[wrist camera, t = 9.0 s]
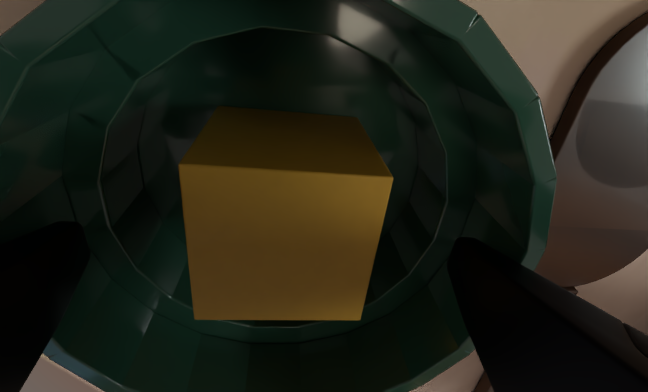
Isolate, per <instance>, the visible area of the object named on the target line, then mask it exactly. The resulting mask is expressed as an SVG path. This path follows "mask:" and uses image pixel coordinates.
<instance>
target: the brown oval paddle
mask: <svg viewBox="0 0 648 392" xmlns="http://www.w3.org/2000/svg"><path fill="white" fill-rule="evenodd" d="M550 145H551V149H552V154H553V158H554V163H555V167H556V172H557V177H556V178H557V185H556V191H555V198H554V204H553V210H552V216H551V222H550V228H549V234H548V240H547V246H546V248H545V252H544V254H543V256H542V258H541V260H540V262H539V263H538V265H537V267H536V269H535V271H534V272H536V273H538V274H539V275H541V276H543V277H545V278H546V279H548V280H550V281H552V282H553V283H555V284H557V285H559V286H561V287H562V288H564V289H566V290H568V291H569V292H571V293H573V294H575V295H577V293H578V291H577V290H576V289H575V288H574V287H573V286H579V285H584V284H588V283H591V282H594V281H597V280H599V279H602V278H605V277H607V276H609V275H611V274H613V273H615V272H617V271H618V270H620V269H622V268H624V267H625V266H627V265H628V264H629V263H631V262H632V261H634V260H635V259H636V258H638V257H639V256H640V255H641V254H642V253H643V252H645V251H646V250H647V249H648V13H646V14H645V15H643V16H641V17H640V18H638V19H637V20H635V21H634V22H632V23H631V24H630V25H628V26H627V27H626V28H624V29H623V30H622V31H621V32H619V33H618V34H617V35H616V36H615V37H614V38H613V39H612V40H611V41H610V42H609V43H608V44H607V45H606V46H605V47H604V48H603V49H602V50H601V51H600V52H599V53H598V54H597V56H596V57H595V58H594V60H593V61H592V62H591V63H590V65H589V66H588V67H587V69H586V70H585V72H584V74H583V75H582V77H581V78H580V80H579V82H578V84H577V85H576V87H575V89H574V91H573V93H572V95H571V98H570V100H569V102H568V104H567V106H566V109H565V111H564V113H563V115H562V117H561V120H560V122H559V124H558V126H557V128H556V131H555V133H554V135H553V137H552V139H551V141H550ZM474 392H494V391H493V388H492V386H491V384H490V382H489V379H488V377H487V375H486V372H485V373H484V375H483V376H482V378H481V380H480V382H479V384H478V386H477V387H476V389H475V391H474Z"/></svg>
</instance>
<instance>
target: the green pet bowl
mask: <svg viewBox="0 0 648 392" xmlns="http://www.w3.org/2000/svg"><path fill="white" fill-rule="evenodd" d="M218 106H228V107H240V108H252V109H263V110H275V111H287V112H299V113H310V114H322V115H334V116H346V117H357V118H358V120H359V121H360V123H361V125H362V126H363V128H364V129H365V131H366V133H367V134H368V136H369V138H370V139H371V141H372V143H373V144H374V146H375V148H376V149H377V151H378V153H379V154H380V156H381V158H382V159H383V161H384V163H385V164H386V166H387V168H388V169H389V171H390V173H391V174H392V176H393V183H392V187H391V191H390V195H389V200H388V204H387V208H386V213H385V217H384V221H383V225H382V230H381V234H380V238H379V242H378V247H377V251H376V255H375V260H374V264H373V268H372V272H371V277H370V281H369V285H368V289H367V294H366V298H365V302H364V306H363V311H362V315H361V319H360V320H195V319H194V313H193V303H192V293H191V284H190V274H189V265H188V255H187V245H186V236H185V226H184V217H183V207H182V197H181V188H180V178H179V169H178V165H179V163H180V161H181V160H182V158H183V157H184V155H185V154H186V152H187V151H188V149H189V148H190V147H191V145H192V144H193V142H194V141H195V139H196V138H197V136H198V135H199V133H200V132H201V130H202V129H203V127H204V126H205V124H206V123H207V122H208V120H209V119H210V117H211V116H212V114H213V113H214V111H215V110H216V108H217V107H218ZM556 177H557V172H556V167H555V163H554V158H553V154H552V149H551V145H550V140H549V136H548V132H547V127H546V123H545V118H544V114H543V109H542V105H541V100H540V97H539V96H538V93H537V91H536V90H535V88H534V87H533V86H532V84H531V83H530V82H529V80H528V79H527V77H526V76H525V75H524V73H523V72H522V71H521V69H520V68H519V66H518V65H517V64H516V62H515V61H514V60H513V58H512V57H511V56H510V54H509V53H508V51H507V50H506V49H505V47H504V46H503V45H502V43H501V42H500V40H499V39H498V38H497V36H496V35H495V34H494V32H493V31H492V29H491V28H490V27H489V25H488V24H487V23H486V21H485V20H484V18H483V17H482V16H481V15H479V14H478V13H477V11H476V10H474V9H473V8H471V7H469V6H468V5H466V4H464V3H463V2H461V1H459V0H45V1H44V2H43V3H41V4H40V5H39V6H37V7H36V8H35V9H34V10H32V11H31V12H30V13H29V14H27V15H26V16H25V17H23V18H22V19H21V20H20V21H18V22H17V23H16V24H15V25H13V26H12V27H11V28H9V29H8V30H7V31H6V32H4V33H3V34H2V35H1V36H0V245H1V244H3V243H6V242H8V241H11V240H13V239H16V238H18V237H21V236H23V235H25V234H28V233H30V232H33V231H35V230H38V229H40V228H43V227H45V226H48V225H50V224H53V223H55V222H58V221H70V222H79V223H80V224H81V225H82V226H83V229H84V232H85V236H86V239H87V243H88V246H89V250H90V258H89V261H88V264H87V266H86V268H85V270H84V273H83V275H82V277H81V279H80V281H79V284H78V286H77V288H76V290H75V292H74V295H73V297H72V299H71V301H70V303H69V306H68V308H67V310H66V312H65V314H64V316H63V318H62V320H61V322H60V324H59V326H58V327H57V329H56V331H55V333H54V334H53V336H52V338H51V339H50V341H49V343H48V344H47V346H46V348H45V350H44V351H43V354H44V355H45V356H47V357H48V358H49V359H50V360H52V361H54V362H55V363H57V364H59V365H60V366H62V367H64V368H66V369H67V370H69V371H71V372H72V373H74V374H76V375H78V376H79V377H81V378H83V379H84V380H86V381H88V382H89V383H91V384H93V385H95V386H96V387H98V388H100V389H101V390H103V391H105V392H409V391H411V390H414V389H416V388H418V387H421V386H422V385H424V384H425V383H427V382H428V381H430V380H431V379H433V378H434V377H436V376H438V375H439V374H441V373H442V372H444V371H445V370H447V369H448V368H450V367H451V366H453V365H454V364H456V363H457V362H459V361H460V360H462V359H463V358H465V357H467V356H468V355H470V353H471V352H473V351H474V350H475V347H474V345H473V342H472V340H471V338H470V335H469V333H468V331H467V328H466V326H465V323H464V321H463V318H462V315H461V312H460V309H459V305H458V302H457V299H456V296H455V293H454V289H453V286H452V283H451V280H450V277H449V274H448V270H447V262H448V259H449V256H450V253H451V250H452V248H453V245H454V242H455V240H456V239H457V238H458V237H473V238H476V239H478V240H479V241H481V242H483V243H485V244H487V245H488V246H490V247H492V248H494V249H495V250H497V251H499V252H501V253H502V254H504V255H506V256H508V257H509V258H511V259H513V260H515V261H516V262H518V263H520V264H522V265H524V266H525V267H527V268H529V269H531V270H532V271H535V269H536V267H537V265H538V263H539V262H540V260H541V258H542V256H543V254H544V252H545V248H546V246H547V240H548V234H549V228H550V222H551V216H552V210H553V204H554V198H555V191H556V185H557V178H556Z"/></svg>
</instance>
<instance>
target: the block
mask: <svg viewBox="0 0 648 392" xmlns="http://www.w3.org/2000/svg"><path fill="white" fill-rule="evenodd" d="M178 169H179V178H180V188H181V197H182V207H183V217H184V226H185V236H186V245H187V255H188V265H189V274H190V284H191V293H192V303H193V313H194V319H195V320H360V319H361V315H362V311H363V306H364V302H365V298H366V294H367V289H368V285H369V281H370V277H371V272H372V268H373V264H374V260H375V255H376V251H377V247H378V242H379V238H380V234H381V230H382V225H383V221H384V217H385V213H386V208H387V204H388V200H389V195H390V191H391V187H392V183H393V176H392V174H391V173H390V171H389V169H388V168H387V166H386V164H385V163H384V161H383V159H382V158H381V156H380V154H379V153H378V151H377V149H376V148H375V146H374V144H373V143H372V141H371V139H370V138H369V136H368V134H367V133H366V131H365V129H364V128H363V126H362V125H361V123H360V121H359V120H358V118H357V117H346V116H334V115H322V114H310V113H299V112H287V111H275V110H263V109H252V108H240V107H228V106H218V107H217V108H216V110H215V111H214V113H213V114H212V116H211V117H210V119H209V120H208V122H207V123H206V124H205V126H204V127H203V129H202V130H201V132H200V133H199V135H198V136H197V138H196V139H195V141H194V142H193V144H192V145H191V147H190V148H189V149H188V151H187V152H186V154H185V155H184V157H183V158H182V160H181V161H180V163H179V165H178Z"/></svg>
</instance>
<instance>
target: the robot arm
mask: <svg viewBox="0 0 648 392" xmlns="http://www.w3.org/2000/svg"><path fill="white" fill-rule="evenodd" d="M89 258H90V250H89V246H88V243H87V239H86V236H85V232H84V229H83V226H82V225H81V224H80V223H79V222H70V221H58V222H55V223H53V224H50V225H48V226H45V227H43V228H40V229H38V230H35V231H33V232H30V233H28V234H25V235H23V236H21V237H18V238H16V239H13V240H11V241H8V242H6V243H3V244H1V245H0V392H19V391H20V390H21V388H22V386H23V385H24V383H25V381H26V380H27V378H28V376H29V374H30V373H31V371H32V370H33V368H34V366H35V365H36V363H37V361H38V360H39V358H40V356H41V355H42V353H43V351H44V350H45V348H46V346H47V344H48V343H49V341H50V339H51V338H52V336H53V334H54V333H55V331H56V329H57V327H58V326H59V324H60V322H61V320H62V318H63V316H64V314H65V312H66V310H67V308H68V306H69V303H70V301H71V299H72V297H73V295H74V292H75V290H76V288H77V286H78V284H79V281H80V279H81V277H82V275H83V273H84V270H85V268H86V266H87V264H88V261H89ZM447 270H448V274H449V277H450V280H451V283H452V286H453V289H454V293H455V296H456V299H457V302H458V305H459V309H460V312H461V315H462V318H463V321H464V323H465V326H466V328H467V331H468V333H469V335H470V338H471V340H472V342H473V345H474V347H475V349H476V352H477V354H478V356H479V358H480V361H481V363H482V365H483V368H484V370H485V372H486V375H487V377H488V379H489V382H490V384H491V386H492V388H493V391H494V392H648V336H647V335H645V334H643V333H642V332H640V331H638V330H636V329H635V328H633V327H631V326H629V325H628V324H626V323H622V322H621V321H620V320H619V319H617V318H615V317H613V316H612V315H610V314H608V313H606V312H605V311H603V310H601V309H599V308H598V307H596V306H594V305H592V304H590V303H589V302H587V301H585V300H583V299H582V298H580V297H578V296H576V295H575V294H573V293H571V292H569V291H568V290H566V289H564V288H562V287H561V286H559V285H557V284H555V283H553V282H552V281H550V280H548V279H546V278H545V277H543V276H541V275H539V274H538V273H536V272H534V271H532V270H531V269H529V268H527V267H525V266H524V265H522V264H520V263H518V262H516V261H515V260H513V259H511V258H509V257H508V256H506V255H504V254H502V253H501V252H499V251H497V250H495V249H494V248H492V247H490V246H488V245H487V244H485V243H483V242H481V241H479V240H478V239H476V238H473V237H458V238H457V239H456V240H455V242H454V245H453V248H452V250H451V253H450V256H449V259H448V262H447Z"/></svg>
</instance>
